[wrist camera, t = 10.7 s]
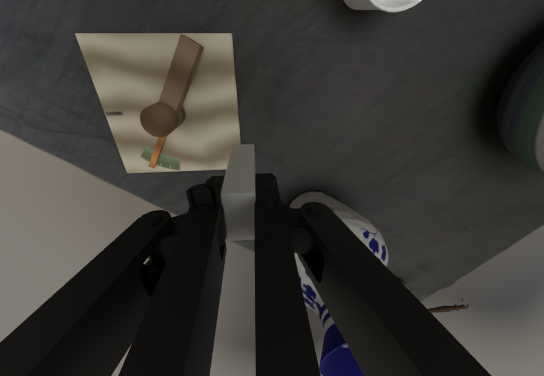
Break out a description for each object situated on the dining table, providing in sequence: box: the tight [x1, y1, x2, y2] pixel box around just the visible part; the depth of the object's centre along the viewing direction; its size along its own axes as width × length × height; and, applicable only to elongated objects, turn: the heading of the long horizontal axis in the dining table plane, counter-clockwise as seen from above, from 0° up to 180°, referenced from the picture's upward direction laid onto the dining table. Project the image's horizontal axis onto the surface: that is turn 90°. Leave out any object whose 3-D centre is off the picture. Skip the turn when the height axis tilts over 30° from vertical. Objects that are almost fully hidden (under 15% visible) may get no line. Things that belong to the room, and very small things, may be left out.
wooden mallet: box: [140, 34, 204, 168], centre depth 34 cm, size 22×4×7 cm, turn 150°
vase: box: [289, 191, 389, 376], centre depth 38 cm, size 19×19×30 cm
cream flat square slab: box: [75, 33, 241, 173], centre depth 38 cm, size 22×22×1 cm
